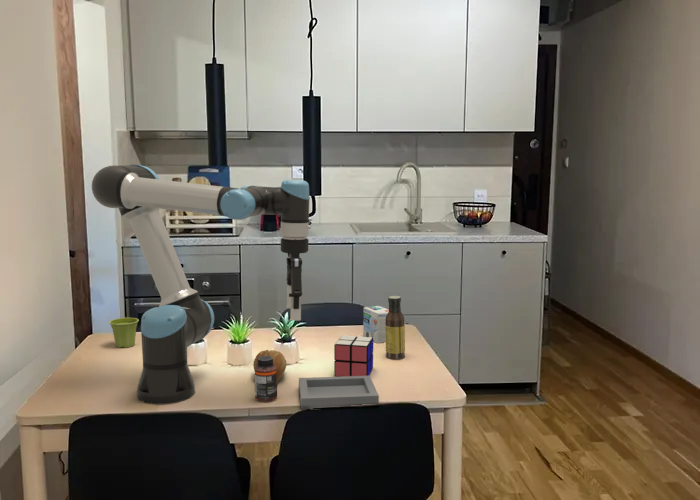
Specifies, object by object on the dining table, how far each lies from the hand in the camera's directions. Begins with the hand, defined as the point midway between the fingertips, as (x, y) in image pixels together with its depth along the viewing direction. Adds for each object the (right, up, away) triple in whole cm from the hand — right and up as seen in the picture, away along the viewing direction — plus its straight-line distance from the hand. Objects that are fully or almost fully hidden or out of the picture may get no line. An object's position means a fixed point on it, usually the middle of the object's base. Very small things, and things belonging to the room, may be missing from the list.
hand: (293, 314), depth 185 cm
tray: (+12, -22, -4) cm, 25 cm away
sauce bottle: (+30, -17, +32) cm, 47 cm away
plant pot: (-61, -15, +43) cm, 76 cm away
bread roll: (-8, -20, +12) cm, 24 cm away
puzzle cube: (+17, -19, +17) cm, 30 cm away
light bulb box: (+25, -14, +53) cm, 61 cm away
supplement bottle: (-7, -22, -5) cm, 24 cm away
